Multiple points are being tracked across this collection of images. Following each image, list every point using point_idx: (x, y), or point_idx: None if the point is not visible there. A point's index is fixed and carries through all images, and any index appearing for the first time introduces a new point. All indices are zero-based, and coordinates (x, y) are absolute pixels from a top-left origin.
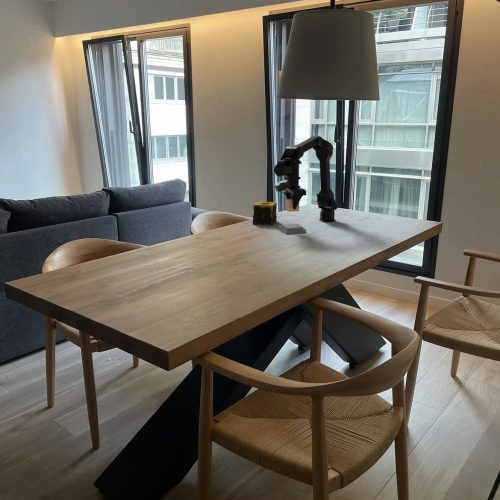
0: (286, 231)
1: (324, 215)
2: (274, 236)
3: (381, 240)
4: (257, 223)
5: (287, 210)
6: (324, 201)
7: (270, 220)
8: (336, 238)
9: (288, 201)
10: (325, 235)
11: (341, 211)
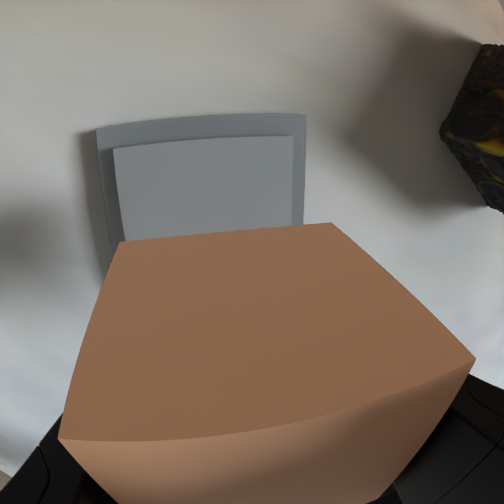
0: (97, 134)
1: None
2: (63, 24)
3: (16, 463)
4: (477, 62)
5: (202, 237)
6: (388, 497)
7: (465, 132)
8: (4, 384)
9: (124, 413)
10: (54, 369)
11: None
